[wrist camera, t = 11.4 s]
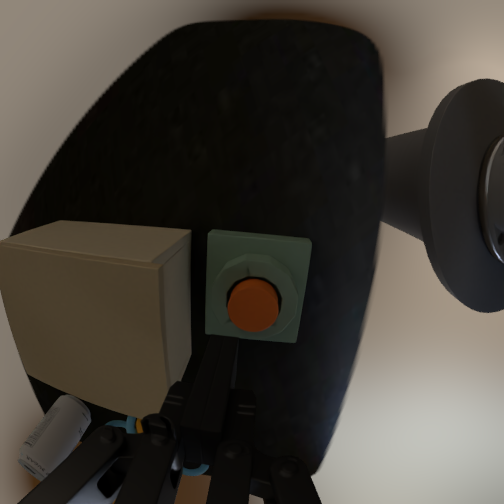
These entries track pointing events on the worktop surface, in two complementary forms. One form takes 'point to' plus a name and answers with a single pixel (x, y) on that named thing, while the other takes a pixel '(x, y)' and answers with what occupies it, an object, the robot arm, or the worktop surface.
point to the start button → (253, 305)
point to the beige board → (89, 325)
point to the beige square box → (136, 249)
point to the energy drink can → (54, 436)
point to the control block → (256, 267)
